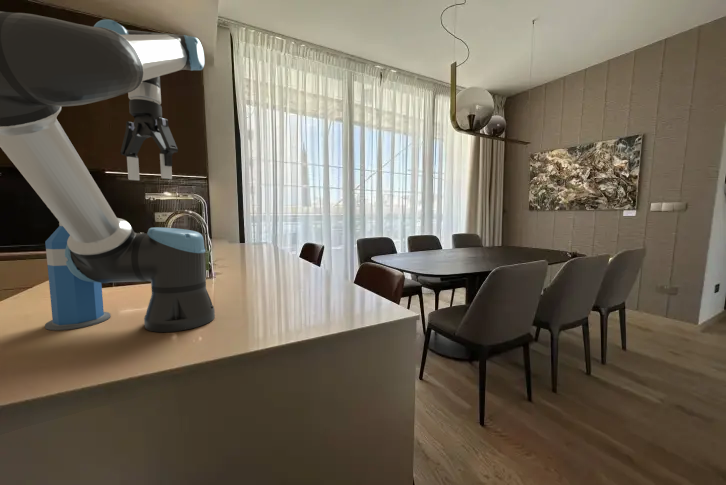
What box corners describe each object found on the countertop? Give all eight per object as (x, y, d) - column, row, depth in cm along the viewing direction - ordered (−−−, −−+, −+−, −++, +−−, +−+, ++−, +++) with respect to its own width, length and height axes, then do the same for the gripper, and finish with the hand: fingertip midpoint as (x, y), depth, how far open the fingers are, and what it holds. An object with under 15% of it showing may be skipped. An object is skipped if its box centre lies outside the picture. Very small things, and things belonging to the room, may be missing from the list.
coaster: (121, 317, 80) (121, 314, 80) (62, 333, 69) (61, 330, 68) (93, 311, 84) (93, 308, 84) (34, 326, 73) (33, 323, 73)
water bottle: (113, 313, 80) (106, 217, 78) (77, 325, 71) (68, 217, 69) (81, 312, 81) (73, 217, 79) (41, 324, 72) (30, 218, 70)
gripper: (190, 101, 85) (193, 179, 87) (130, 111, 94) (134, 181, 96) (164, 91, 78) (168, 176, 80) (102, 103, 87) (107, 179, 89)
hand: (149, 179), depth 88 cm, fingers open, 13 cm apart
